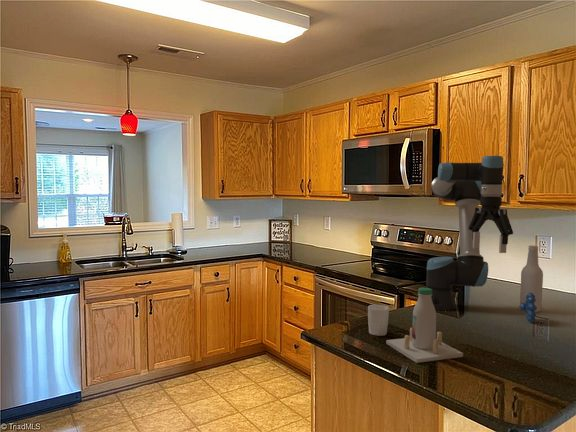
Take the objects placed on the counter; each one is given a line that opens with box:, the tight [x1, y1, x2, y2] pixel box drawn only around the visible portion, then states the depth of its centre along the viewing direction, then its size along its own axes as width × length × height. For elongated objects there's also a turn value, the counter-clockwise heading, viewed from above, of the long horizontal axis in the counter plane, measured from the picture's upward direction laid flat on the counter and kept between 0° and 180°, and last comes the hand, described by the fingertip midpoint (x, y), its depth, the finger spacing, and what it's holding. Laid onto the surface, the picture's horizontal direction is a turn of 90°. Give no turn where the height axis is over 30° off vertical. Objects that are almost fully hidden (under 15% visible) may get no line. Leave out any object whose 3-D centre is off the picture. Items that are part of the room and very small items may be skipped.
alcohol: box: [519, 244, 544, 313], centre depth 200 cm, size 9×9×30 cm
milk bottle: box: [411, 287, 437, 350], centre depth 147 cm, size 8×8×20 cm
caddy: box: [385, 327, 464, 364], centre depth 147 cm, size 18×18×6 cm
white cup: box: [367, 304, 390, 337], centre depth 164 cm, size 8×8×10 cm
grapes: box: [518, 293, 537, 323], centre depth 183 cm, size 12×7×12 cm, turn 156°
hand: (488, 250), depth 168 cm, fingers open, 13 cm apart
